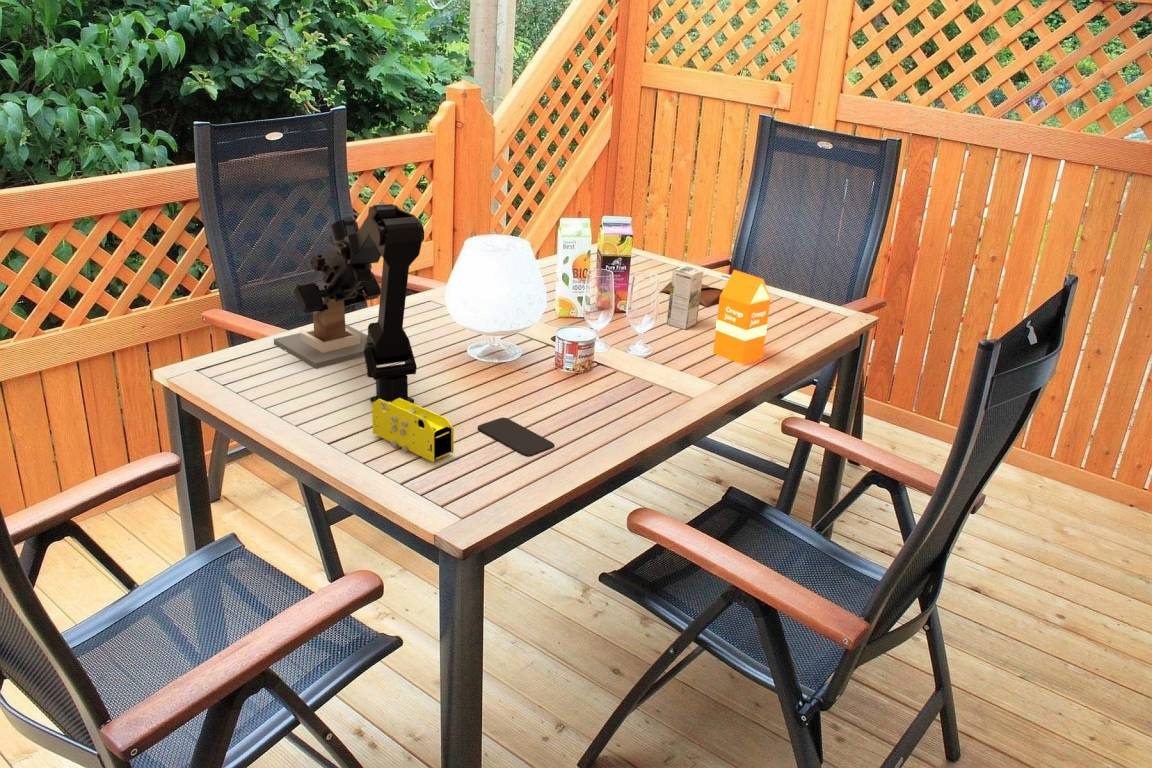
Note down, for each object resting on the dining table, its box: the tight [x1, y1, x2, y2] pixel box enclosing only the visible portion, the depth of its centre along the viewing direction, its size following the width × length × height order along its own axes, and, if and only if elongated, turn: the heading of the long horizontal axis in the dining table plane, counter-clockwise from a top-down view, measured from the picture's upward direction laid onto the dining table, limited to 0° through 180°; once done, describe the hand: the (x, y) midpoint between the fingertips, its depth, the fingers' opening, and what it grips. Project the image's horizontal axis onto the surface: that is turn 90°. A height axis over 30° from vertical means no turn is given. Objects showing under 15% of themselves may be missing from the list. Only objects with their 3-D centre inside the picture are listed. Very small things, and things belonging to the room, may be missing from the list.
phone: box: [477, 417, 555, 458], centre depth 180 cm, size 7×1×15 cm
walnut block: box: [312, 299, 346, 342], centre depth 214 cm, size 5×5×10 cm
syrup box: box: [666, 265, 704, 330], centre depth 241 cm, size 6×6×14 cm
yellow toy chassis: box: [371, 398, 455, 463], centre depth 173 cm, size 16×6×8 cm, turn 52°
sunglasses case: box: [659, 280, 724, 308], centre depth 265 cm, size 18×7×7 cm, turn 47°
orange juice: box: [712, 269, 771, 364], centre depth 222 cm, size 8×9×20 cm
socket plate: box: [273, 323, 368, 369], centre depth 216 cm, size 18×18×3 cm
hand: (325, 309), depth 214 cm, fingers closed on walnut block, 5 cm apart
